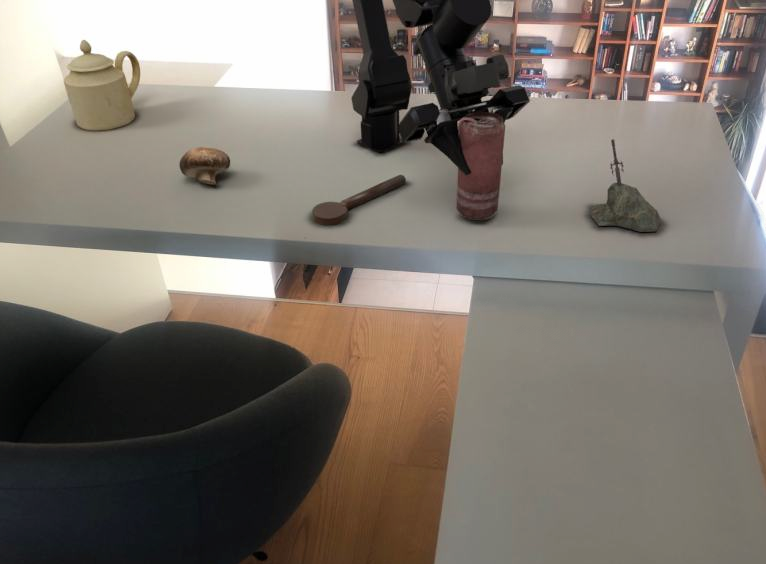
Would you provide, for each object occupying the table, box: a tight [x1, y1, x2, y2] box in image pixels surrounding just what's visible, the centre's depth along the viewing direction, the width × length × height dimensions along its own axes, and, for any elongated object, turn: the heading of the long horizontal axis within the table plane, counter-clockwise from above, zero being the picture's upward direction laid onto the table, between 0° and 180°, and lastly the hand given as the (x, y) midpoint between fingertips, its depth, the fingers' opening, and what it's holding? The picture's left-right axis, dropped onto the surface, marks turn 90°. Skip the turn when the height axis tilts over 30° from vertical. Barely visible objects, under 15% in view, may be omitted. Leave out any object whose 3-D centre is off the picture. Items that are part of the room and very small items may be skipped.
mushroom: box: [178, 146, 231, 186], centre depth 113 cm, size 8×8×6 cm
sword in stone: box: [590, 138, 662, 233], centre depth 99 cm, size 10×8×12 cm
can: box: [455, 112, 506, 221], centre depth 98 cm, size 6×6×14 cm
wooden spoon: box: [311, 174, 407, 226], centre depth 107 cm, size 18×5×2 cm, turn 135°
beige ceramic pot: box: [63, 39, 141, 131], centre depth 133 cm, size 15×11×15 cm
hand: (484, 170), depth 97 cm, fingers closed on can, 5 cm apart
